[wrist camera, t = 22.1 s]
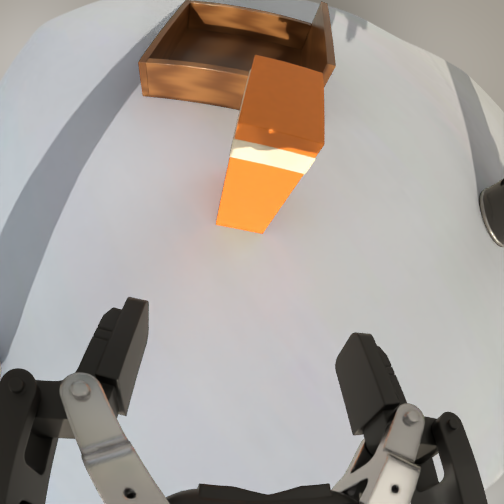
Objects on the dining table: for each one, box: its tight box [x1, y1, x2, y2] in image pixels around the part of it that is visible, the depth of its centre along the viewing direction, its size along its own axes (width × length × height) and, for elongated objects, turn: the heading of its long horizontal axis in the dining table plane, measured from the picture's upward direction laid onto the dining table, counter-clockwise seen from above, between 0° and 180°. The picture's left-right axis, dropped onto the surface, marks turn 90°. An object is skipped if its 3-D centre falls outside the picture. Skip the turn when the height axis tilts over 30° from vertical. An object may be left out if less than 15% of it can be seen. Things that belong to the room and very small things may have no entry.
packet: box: [216, 55, 324, 234], centre depth 19 cm, size 4×6×13 cm
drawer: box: [138, 0, 336, 110], centre depth 25 cm, size 18×16×9 cm
